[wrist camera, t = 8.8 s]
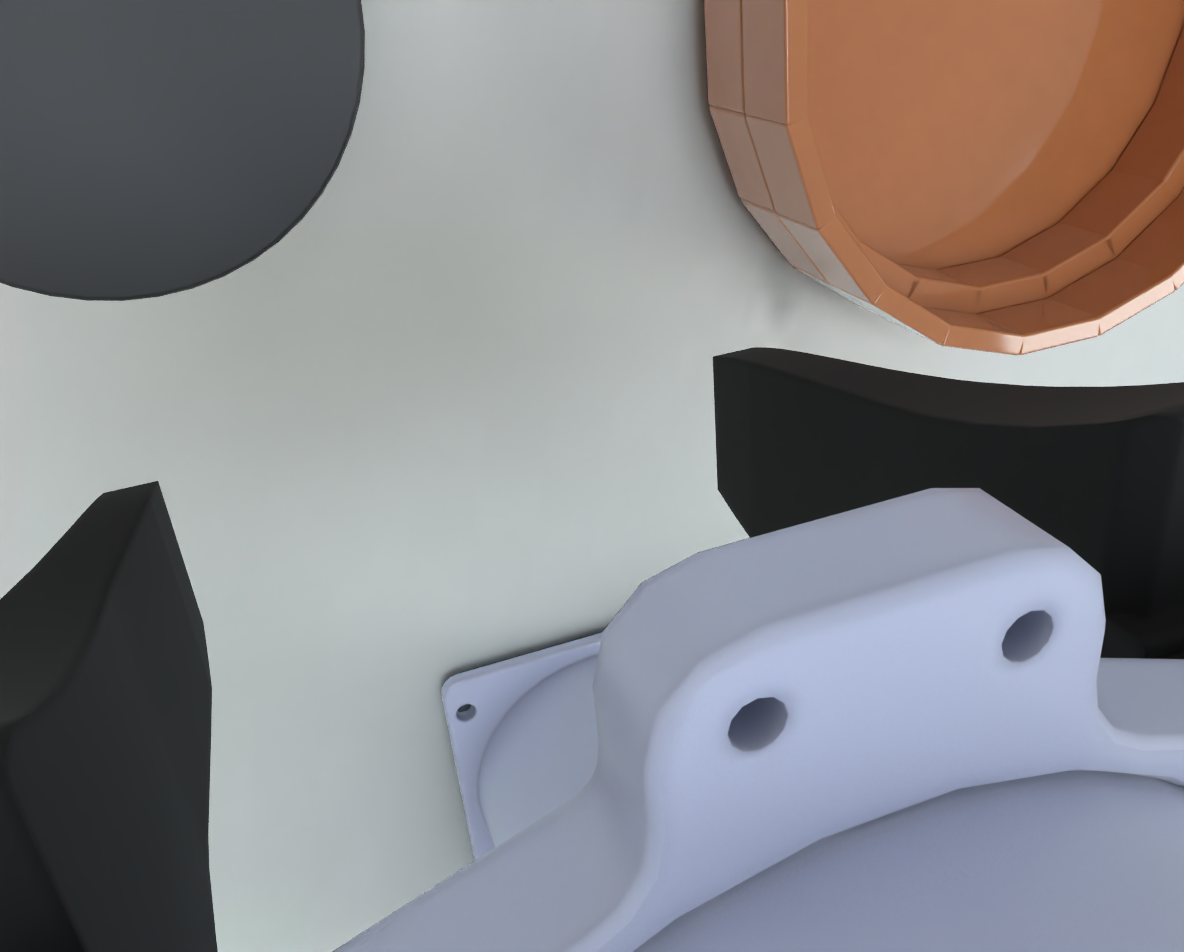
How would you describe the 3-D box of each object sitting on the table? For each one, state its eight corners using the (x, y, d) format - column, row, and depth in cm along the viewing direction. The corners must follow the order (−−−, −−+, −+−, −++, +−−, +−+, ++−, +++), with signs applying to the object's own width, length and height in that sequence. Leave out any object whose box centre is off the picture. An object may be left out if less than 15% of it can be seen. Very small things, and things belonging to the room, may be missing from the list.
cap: (346, 185, 16) (406, 253, 12) (-31, 245, 15) (-121, 348, 10) (266, -225, 14) (303, -330, 9) (-191, -198, 12) (-393, -306, 8)
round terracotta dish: (1165, 253, 30) (1293, 290, 26) (708, 354, 26) (789, 411, 23) (1263, -374, 23) (1450, -434, 20) (676, -354, 20) (780, -424, 16)
